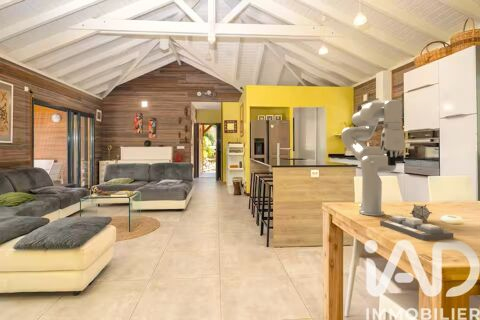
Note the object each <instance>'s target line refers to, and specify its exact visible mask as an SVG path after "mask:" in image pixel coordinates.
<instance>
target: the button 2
mask: <svg viewBox="0 0 480 320" xmlns="http://www.w3.org/2000/svg"><path fill="white" fill-rule="evenodd" d="M421 227H423V228H426V229H430V230H432V229H439V228H440V226H438V225H434V224H432V223H424V224H422V225H421Z"/></svg>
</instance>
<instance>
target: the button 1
mask: <svg viewBox="0 0 480 320" xmlns="http://www.w3.org/2000/svg"><path fill="white" fill-rule="evenodd" d="M391 217H392V218H394V219H397V220H406V218H408V217H407V216H403V215H392V216H391Z"/></svg>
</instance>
